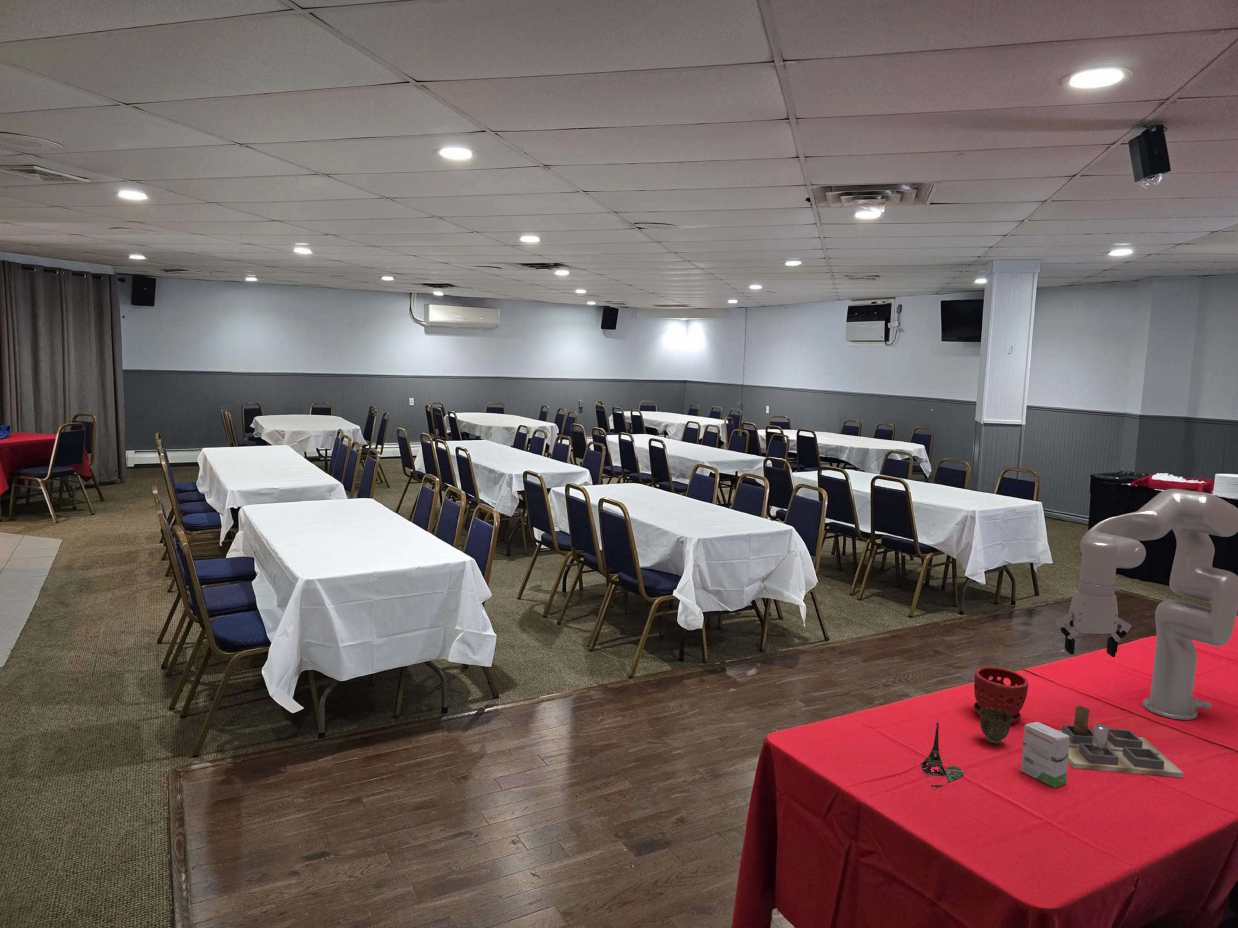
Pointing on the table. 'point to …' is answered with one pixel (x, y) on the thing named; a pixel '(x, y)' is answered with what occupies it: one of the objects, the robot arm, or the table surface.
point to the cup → (995, 724)
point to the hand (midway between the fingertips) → (1090, 653)
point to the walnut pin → (1081, 721)
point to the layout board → (1117, 752)
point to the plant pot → (1000, 691)
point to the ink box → (1045, 754)
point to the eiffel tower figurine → (940, 764)
